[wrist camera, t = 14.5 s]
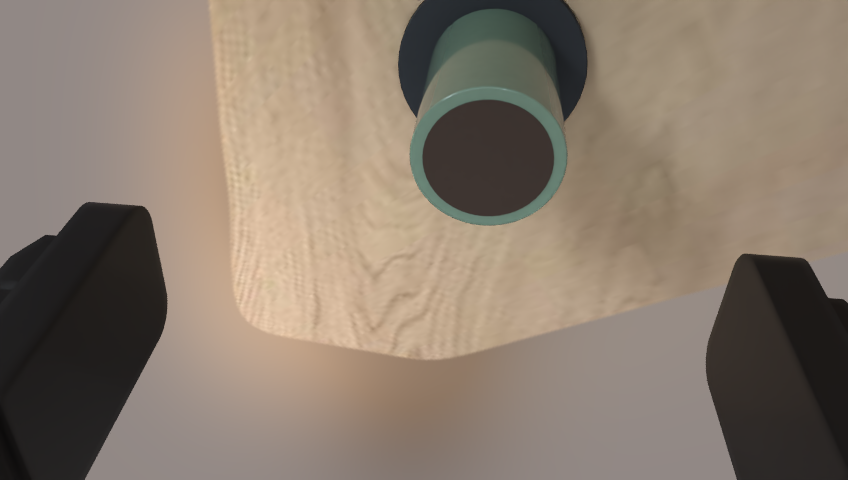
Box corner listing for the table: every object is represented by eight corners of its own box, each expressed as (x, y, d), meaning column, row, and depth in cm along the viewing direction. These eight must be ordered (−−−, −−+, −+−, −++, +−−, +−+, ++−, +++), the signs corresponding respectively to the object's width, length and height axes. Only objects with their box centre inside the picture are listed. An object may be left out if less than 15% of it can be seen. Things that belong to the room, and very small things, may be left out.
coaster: (366, 89, 38) (364, 94, 38) (464, -70, 34) (464, -67, 33) (514, 178, 40) (514, 184, 40) (626, 39, 36) (627, 44, 35)
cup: (407, 87, 37) (380, 178, 30) (475, -18, 34) (464, 55, 27) (508, 148, 39) (507, 250, 31) (582, 53, 36) (600, 142, 28)
